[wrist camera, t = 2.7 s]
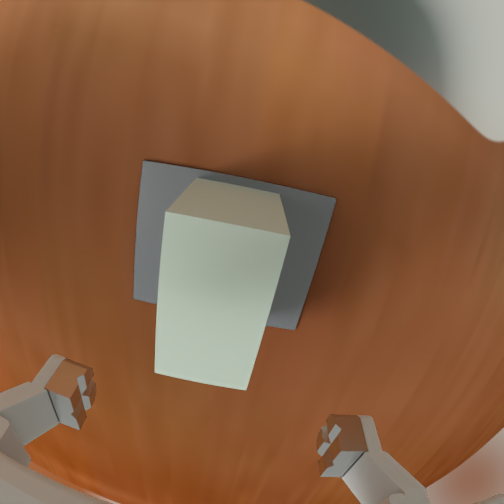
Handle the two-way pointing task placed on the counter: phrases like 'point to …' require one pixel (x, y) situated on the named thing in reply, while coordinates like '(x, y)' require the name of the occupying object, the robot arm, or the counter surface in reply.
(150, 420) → the counter surface
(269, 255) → the sage block
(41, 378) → the robot arm
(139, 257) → the card
